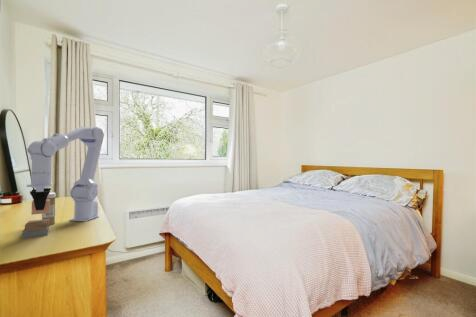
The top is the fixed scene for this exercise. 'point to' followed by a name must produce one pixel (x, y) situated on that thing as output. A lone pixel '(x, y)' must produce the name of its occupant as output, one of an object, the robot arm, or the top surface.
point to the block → (46, 210)
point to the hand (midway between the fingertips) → (40, 208)
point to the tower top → (37, 225)
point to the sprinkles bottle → (52, 209)
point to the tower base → (34, 233)
